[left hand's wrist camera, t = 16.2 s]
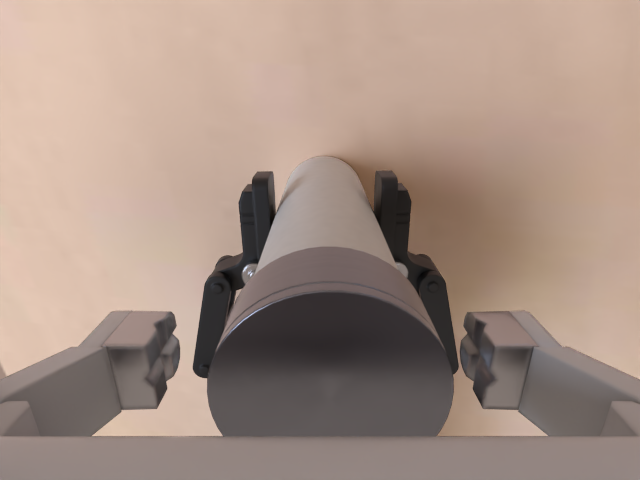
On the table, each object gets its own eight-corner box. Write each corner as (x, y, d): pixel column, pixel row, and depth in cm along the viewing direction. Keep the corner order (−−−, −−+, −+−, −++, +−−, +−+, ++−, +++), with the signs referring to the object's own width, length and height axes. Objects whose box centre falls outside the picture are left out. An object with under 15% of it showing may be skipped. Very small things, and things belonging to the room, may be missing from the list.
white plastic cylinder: (373, 212, 25) (462, 421, 9) (305, 241, 26) (281, 479, 10) (344, 142, 23) (392, 252, 8) (272, 175, 24) (183, 336, 8)
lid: (380, 210, 9) (398, 246, 7) (453, 372, 11) (486, 441, 9) (191, 297, 10) (156, 353, 8) (287, 434, 12) (280, 510, 10)
